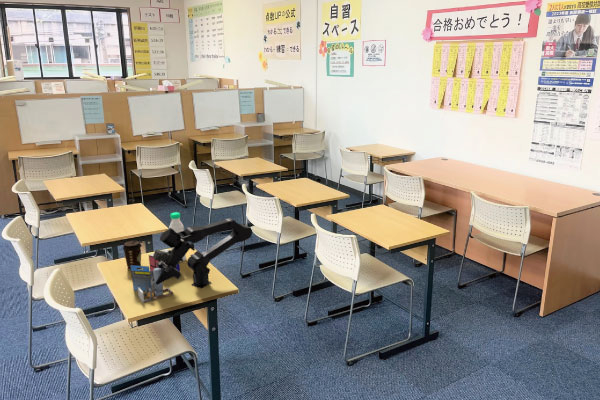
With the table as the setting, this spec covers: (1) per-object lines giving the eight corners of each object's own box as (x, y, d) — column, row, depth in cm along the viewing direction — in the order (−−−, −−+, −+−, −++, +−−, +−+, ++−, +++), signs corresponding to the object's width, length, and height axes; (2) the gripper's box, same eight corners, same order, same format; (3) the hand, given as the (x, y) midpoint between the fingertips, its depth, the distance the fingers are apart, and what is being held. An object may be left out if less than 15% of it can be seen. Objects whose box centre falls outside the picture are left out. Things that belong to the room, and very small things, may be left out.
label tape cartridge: (155, 288, 214) (153, 262, 211) (151, 292, 210) (149, 266, 207) (137, 287, 216) (134, 261, 212) (133, 290, 212) (130, 265, 208)
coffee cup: (141, 262, 241) (139, 238, 238) (145, 268, 234) (143, 243, 231) (123, 266, 237) (120, 242, 233) (127, 272, 230) (124, 247, 226)
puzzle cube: (163, 280, 222) (161, 260, 219) (150, 274, 228) (148, 255, 225) (180, 272, 230) (178, 253, 227) (167, 267, 236) (165, 248, 233)
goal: (148, 295, 208) (147, 284, 206) (152, 300, 203) (151, 290, 201) (138, 297, 205) (137, 287, 204) (142, 303, 201) (141, 292, 199)
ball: (156, 291, 205) (149, 290, 203) (155, 298, 204) (148, 297, 202) (153, 291, 207) (146, 291, 206) (152, 298, 206) (145, 298, 205)
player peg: (162, 292, 209) (159, 267, 206) (164, 295, 207) (162, 270, 203) (153, 294, 208) (151, 269, 204) (156, 297, 205) (153, 272, 201)
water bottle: (178, 264, 240) (174, 216, 233) (168, 261, 243) (164, 214, 236) (189, 259, 245) (185, 212, 238) (179, 256, 249) (175, 210, 242)
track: (168, 289, 212) (168, 287, 212) (173, 295, 207) (173, 292, 207) (149, 294, 208) (149, 292, 208) (154, 300, 203) (154, 298, 203)
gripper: (157, 236, 210) (134, 265, 208) (171, 250, 195) (146, 281, 193) (175, 249, 217) (153, 278, 214) (191, 263, 202) (167, 294, 199)
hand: (154, 282), depth 205 cm, fingers closed on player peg, 3 cm apart
